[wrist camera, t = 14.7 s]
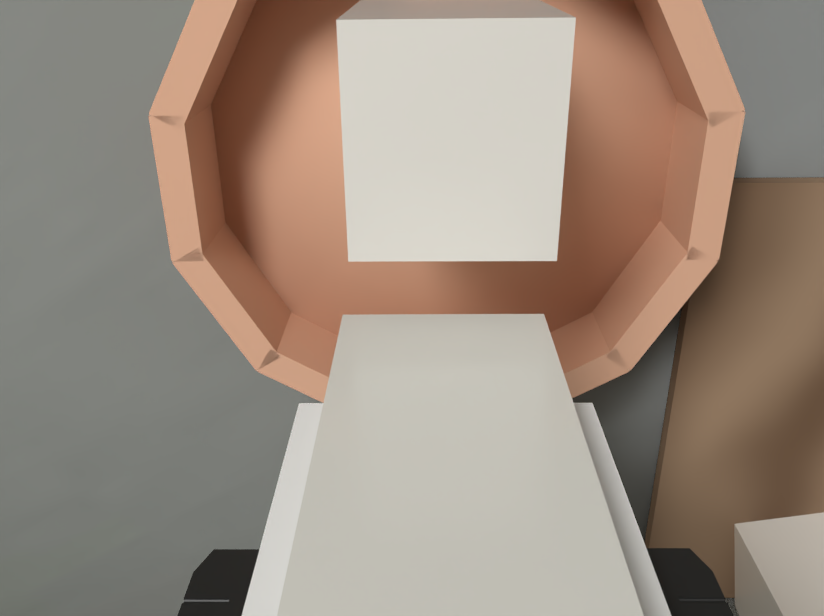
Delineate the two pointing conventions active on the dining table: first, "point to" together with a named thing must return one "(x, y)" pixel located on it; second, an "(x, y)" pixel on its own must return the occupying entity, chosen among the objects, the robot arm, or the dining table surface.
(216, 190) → the bowl
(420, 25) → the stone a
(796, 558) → the off-white square pillar
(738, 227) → the board
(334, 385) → the off-white rectangular block
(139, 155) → the dining table surface
